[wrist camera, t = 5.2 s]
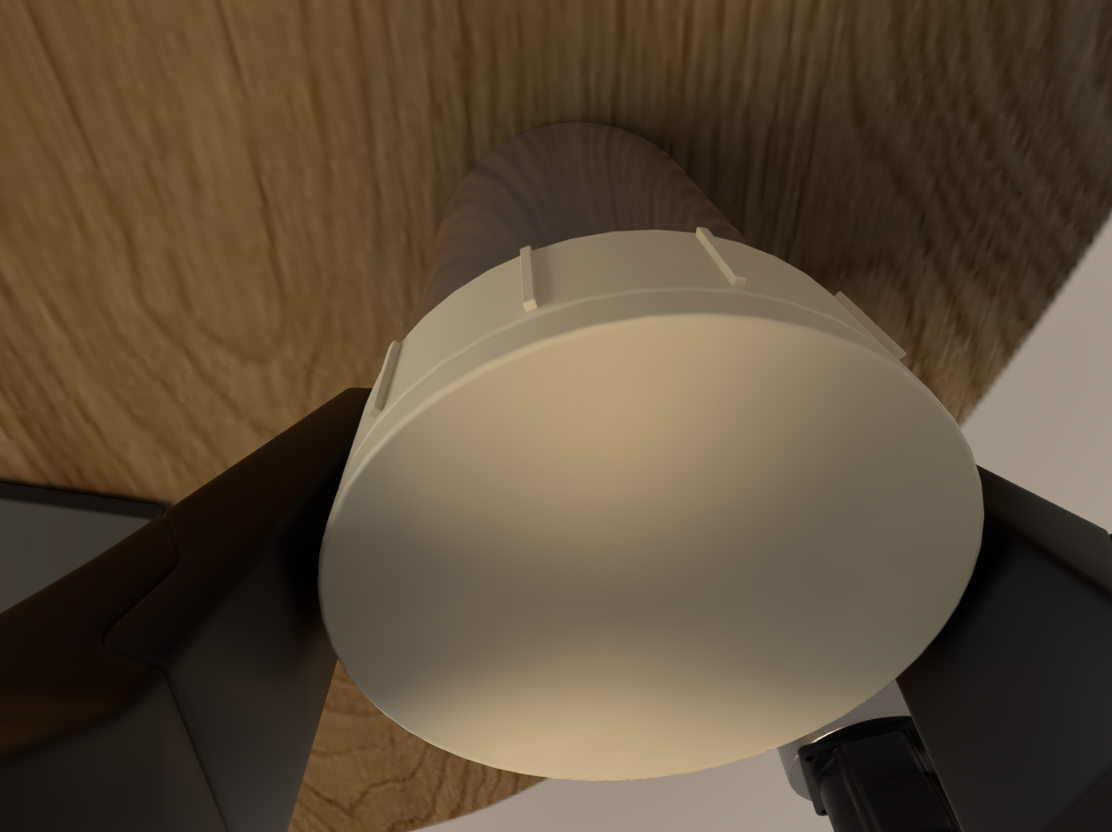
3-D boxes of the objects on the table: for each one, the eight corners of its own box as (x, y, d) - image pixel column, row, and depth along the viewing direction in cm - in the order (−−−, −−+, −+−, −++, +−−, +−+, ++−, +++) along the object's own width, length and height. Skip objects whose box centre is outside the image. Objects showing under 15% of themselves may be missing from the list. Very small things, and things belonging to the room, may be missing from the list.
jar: (735, 338, 16) (930, 646, 8) (500, 419, 16) (496, 762, 9) (671, 70, 12) (901, 202, 5) (383, 189, 13) (236, 444, 6)
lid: (1003, 363, 8) (1142, 471, 6) (704, 685, 11) (740, 814, 9) (470, 111, 6) (455, 165, 4) (299, 588, 9) (252, 728, 7)
